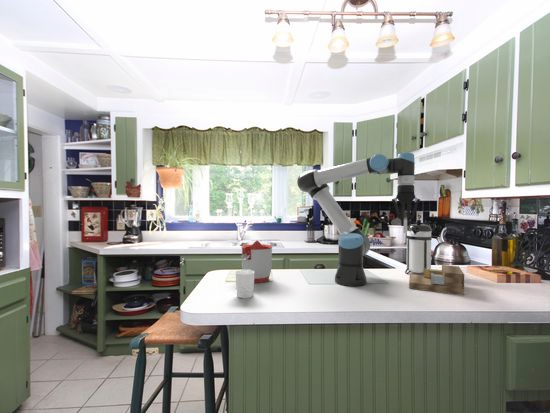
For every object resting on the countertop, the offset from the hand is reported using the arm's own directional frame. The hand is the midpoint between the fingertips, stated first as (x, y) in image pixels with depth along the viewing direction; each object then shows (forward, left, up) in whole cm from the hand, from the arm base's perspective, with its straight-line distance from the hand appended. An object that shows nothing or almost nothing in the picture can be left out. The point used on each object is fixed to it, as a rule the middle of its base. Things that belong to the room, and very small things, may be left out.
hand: (405, 232), depth 137 cm
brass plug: (+14, +4, -21) cm, 26 cm away
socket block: (+13, -2, -24) cm, 27 cm away
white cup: (-59, -53, -25) cm, 83 cm away
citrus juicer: (-67, -31, -25) cm, 78 cm away
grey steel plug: (+16, -7, -21) cm, 28 cm away
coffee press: (+6, +24, -25) cm, 35 cm away
